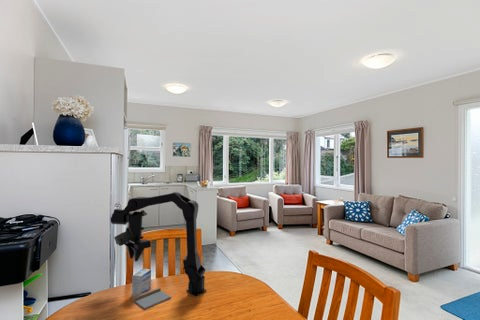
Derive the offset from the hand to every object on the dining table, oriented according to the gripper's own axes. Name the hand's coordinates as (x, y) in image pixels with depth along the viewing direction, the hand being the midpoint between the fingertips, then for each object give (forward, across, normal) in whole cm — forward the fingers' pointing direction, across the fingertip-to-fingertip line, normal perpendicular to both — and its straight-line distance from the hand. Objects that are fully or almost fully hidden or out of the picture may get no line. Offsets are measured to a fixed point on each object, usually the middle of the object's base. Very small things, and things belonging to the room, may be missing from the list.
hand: (133, 259), depth 118 cm
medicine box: (+12, +8, 0) cm, 14 cm away
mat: (+12, +17, 0) cm, 21 cm away
